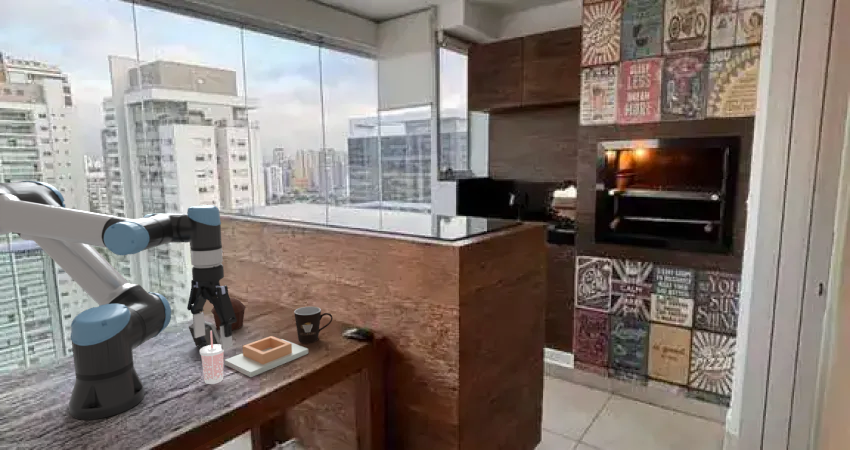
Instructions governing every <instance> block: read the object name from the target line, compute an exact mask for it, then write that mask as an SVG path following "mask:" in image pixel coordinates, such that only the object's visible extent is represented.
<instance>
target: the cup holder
mask: <svg viewBox="0 0 850 450" xmlns="http://www.w3.org/2000/svg"><path fill="white" fill-rule="evenodd" d="M307 354H309V348H307V347H306V346H305V347H304V346H302V345H299V344H296V343H294V342H292V341H289V340H285V339H283V338H278V337H275V336H274V335H270V336H267V337H264V338H261V339H259V340H256V341H253V342H250V343H247V344H245V345H242V353H240V354H236V355H234V356H231V357H228V358H225V359H224V365H225V366H226V367H229V368H231V369H233V370H235V371H237V372H240V373H241V374H243V375H245V376H247V377H250V378H252V377H255V376H257V375H260V374H262V373H265V372H268V371H270V370H272V369H275V368H277V367H280V366H281V365H284V364H285V363H286V364H288V363H289V362H292V361H293V360H296V359H298V358H301V357H303V356H306V355H307Z"/></svg>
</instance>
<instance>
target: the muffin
mask: <svg viewBox="0 0 850 450" xmlns="http://www.w3.org/2000/svg"><path fill="white" fill-rule="evenodd" d="M230 300H231V303H232V306H233V310H234V313H235V316H236V319H237V322H235V323H232V325H231V326H232V331H234V330H235V331H236V330H239V329H241V327H243V326H244V319H245V318H244V317H245V310H246V308H247V307H246V306H245V305H244V304H243V303H242V302H241V300H239V299H237V298H235V297H234V298H233V297H230ZM211 313H212V314H213V318H214V323H215V324H214V325H215V329H216V331H220V326H219V325H220V324H221V321H220V319H219V317H218V315H217V313H216V310H215V308H214V306H213V307H212V309H211ZM224 320H225V319H224Z"/></svg>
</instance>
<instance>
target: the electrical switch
mask: <svg viewBox="0 0 850 450" xmlns="http://www.w3.org/2000/svg"><path fill="white" fill-rule="evenodd" d="M204 324H205V335H204V336H201V337H198V338H194V327H193V323H192V324H191V325H188V329H189V332H190V335H191V337H192V339H193V342H194V344H195V347H197V348H199V349H201V348H203V347H205V346H208V345H211V337H210V331H212V338H213V345H214V344H219V345H221V338H220V337H219V335H218V332H217V331H218V330H217V328H216V325H215V324H214V323H213V322H210V321H206V320H204Z"/></svg>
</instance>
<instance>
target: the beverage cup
mask: <svg viewBox="0 0 850 450" xmlns="http://www.w3.org/2000/svg"><path fill="white" fill-rule="evenodd" d="M210 337H211V345H208V346H205V347H203V348H199V355H200V356H201V365H202V371H203V379H204V384H206V385H215V384H218V383H220V382H222V381H223V380H224V353H225V349H224V350H222V349H221V345H219V344H214V345H213V338H212V331H210Z"/></svg>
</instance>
